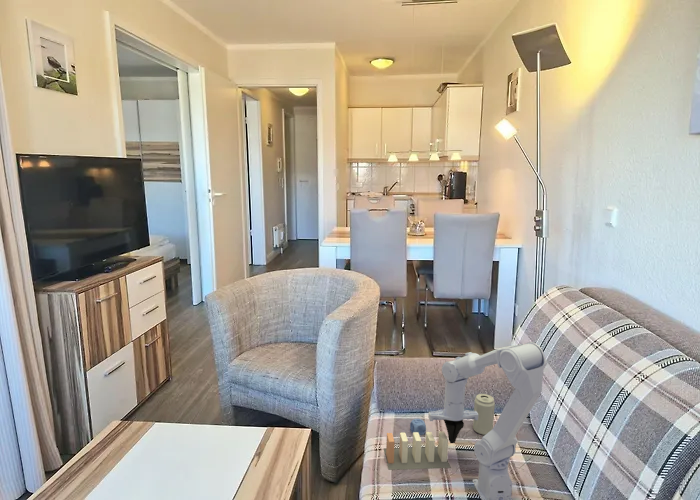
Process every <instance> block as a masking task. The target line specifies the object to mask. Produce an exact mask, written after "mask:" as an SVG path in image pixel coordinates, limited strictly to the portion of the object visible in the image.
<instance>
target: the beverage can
mask: <svg viewBox="0 0 700 500" xmlns="http://www.w3.org/2000/svg"><path fill="white" fill-rule="evenodd" d="M473 405H474V406H473V411H477V413H478V420H474V419H472V420H473V421H472V429H473V430H474V431H475V432H476V433H477V434H480V435H483V436H485V435H486V434H487V433H488V432H490V431H491V430H492V429H493V427H494V420H495V419H494V418H495V406H496V403H495V399H494V397H493V396H491V395H489V394H486V393H479V394H476V396H475V399H474V404H473Z"/></svg>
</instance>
